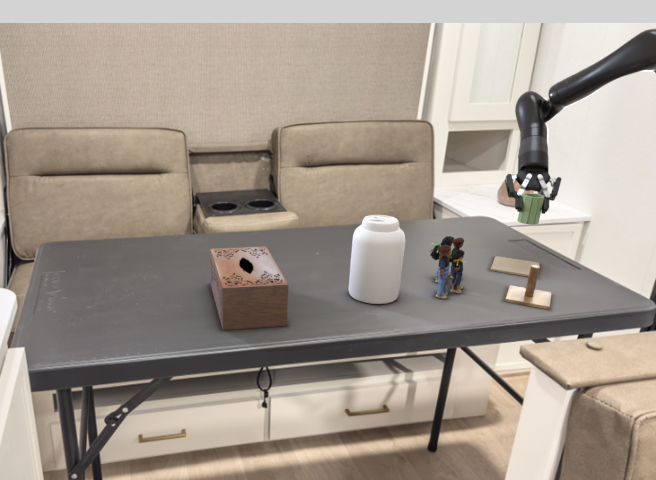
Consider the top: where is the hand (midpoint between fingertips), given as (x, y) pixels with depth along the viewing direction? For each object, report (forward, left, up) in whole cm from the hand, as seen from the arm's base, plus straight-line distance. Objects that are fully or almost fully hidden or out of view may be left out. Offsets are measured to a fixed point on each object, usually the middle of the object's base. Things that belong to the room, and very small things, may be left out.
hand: (531, 211), depth 153 cm
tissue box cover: (+57, +53, -18) cm, 80 cm away
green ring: (0, -2, -3) cm, 4 cm away
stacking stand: (-4, +16, -18) cm, 24 cm away
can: (+31, +33, -18) cm, 49 cm away
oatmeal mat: (+1, -6, -18) cm, 19 cm away
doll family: (+16, +18, -18) cm, 30 cm away
